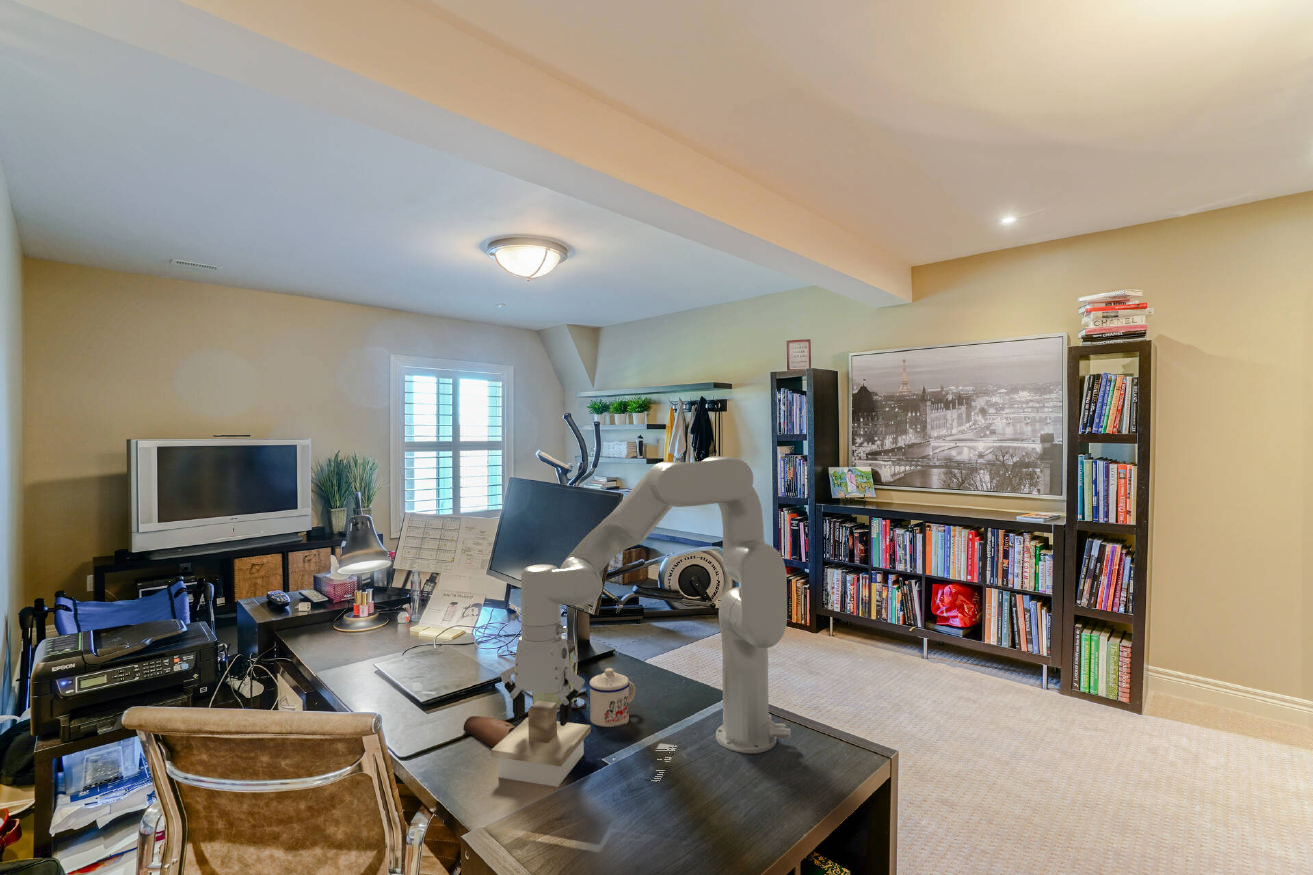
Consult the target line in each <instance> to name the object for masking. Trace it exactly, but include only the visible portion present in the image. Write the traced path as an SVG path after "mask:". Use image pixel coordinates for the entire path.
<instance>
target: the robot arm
mask: <svg viewBox="0 0 1313 875" xmlns="http://www.w3.org/2000/svg"><path fill="white" fill-rule="evenodd" d="M753 484H754V473H753V470H752V469H751V467H750V465H749V464H748V463H747V462H746V461H745V460H743V459H741V458H737V457H733V456H732V457H730V456H722V455H721V456H720V455H719V456H718V455H717V456H716V455H715V456H713V455H712V456H709V457H706V458H704V459H703V460H701V461H692V462H691V461H690V462H674V461H661V462H658V463H656V464H655V465H652V467H651V468H650V469H648V471H647V472H646V473H645V474H644V475H643V477H641V479H640V480H639V481H638V482H637V483H636V484H635V486H634V487H633V488H632V489H631V490H630V491H629V493H627V495H626V496H625V497H624V498H623V500H621V502H619V504H618V505H617V506H616V507H615V509H613V511H612V512H611V513H609V515H607V517H605V518H604V519H603V520H601V522H600V523H599V524H597V526H596V527H595V528H593V529H592V530H591V531H590V532H589V533H588V534H587V535H585V537H584V538H583V539H582V540H581V541H580V542H578V544H577V545H576V546H575V548H574V549H573V550H572V551H571V552H570V553H569V555H568V556H567V557H566V558H565V560H564V561H563V562H562V564H561V565H560V567H559V568H558V567H557V566H555V565H553V564H535V565H534V564H533V565H530V566H527V567H525V568H523V570H522V572H521V574H520V576H521V577H520V596H521V597H520V598H521V599H520V604H521V605H520V606H521V607H520V608H521V610H520V613H521V615H520V616H521V618H520V619H521V620H520V621H521V630H520V631H521V636H519V638H518V640H517V645H516V650H515V651H516V652H515V658H514V666H511V667H509V668H507V669H506V670H504V671H502V672H501V673H500V674H499V675H500V678H501V681H502V683H503V684H504V685H503V686H504V689H505V690H506V691H507V693H509V697H510V699H512V713H513V720H514V721H518V720H519V719H520V718H522V717H523V716H524V715H525V714H526V696H525V693H524V692H523V691H525V692H540V693H550V694H557V696H558V697H559V698H560V700H561V701H562V704H561V705H560V712H559V721H560V725H561V726H564V725H565V724H566V723H567V722H568V723H569V721H570V720H571V719H572V716H573V710H572V709H573V707H572V706H573V705H572V700H573V699H574V698H575V699H576V697H577V696H578V695H579V694H580V693H581V690H582V688H583V686H584V685H585V682H586V681H585V678H583V677H581V676H579V675H578V674H576V673H575V671H574V672H572V671H571V670H570V661H569V652H568V647H567V642H566V640H567V639H566V636H565V635H564V634H567V633H568V627H567V626H566V625H565V626H564V625H563V621H562V605H570V606H587V605H590V604H592V603H594V602H595V601H596V600H598V599H599V597H600V596H601V595H602V591H603V586H604V584H603V580H602V577H601V575H600V573H601V572H602V570H604V568H605V567H607V565H608V564H609V563H610V562H611V561H612V560H613V559H614V558H615V557H616V556H618V555H619V554H620V553H622V552H624V551H625V550H627V549H629V548H633V547H636V546H637V545H640V544H641V543H643V542H644V541H645V540H646V539H647V538H648V537H649V535H650V534H651V533H652V532H653V530H654V529H655V528H656V527H657V526H658V525H659V524H660V522H661V521H662V520H663V519H664V518H665V516H666V515H667V514H668V513H669V512H670V511H671V509H672V508H673V507H675V508H682V507H683V508H684V507H698V506H705V505H712V504H713V505H714V504H717V505H718V507H719V510H720V514H721V520H722V521H721V524H722V564H723V569H724V571H725V573H726V574H727V576H728V577H729V578H731V579H732V580H733V581H735V582H737V583H738V584H740V586H736V587H733V588H731V589H729V590H728V591H726V592H725V593H724V594H723V595H722V598H721V599H720V603H719V605H718V621H719V622H718V623H719V629H720V635H721V647H722V650H721V651H722V653H721V654H722V725H720V726H719V727H718V728H717V729H716V731H715V740H716V742H717V743H718V744H719V745H721V747H722V748H723V747H724V748H726V749H727V750H729V751H732V752H736V753H744V754H745V753H746V754H760V753H764V752H767V751H770V750H772V749H773V748H774V747H775V746H776V745H777V738H781V739H787V740H790V739H791V737H792V736H791V734H792V733H791V731H792V730H791V728H787V727H786V726H787V725H786V724H785V723H775V721H772V714H769V651H768V649H769V648H772V647H774V646H776V645H777V644H778V643H779V642H780V641H781V640H782V638H783V637H784V634H785V631H786V627H787V623H788V587H787V586H788V585H787V580H788V579H787V568H786V565H785V562H784V558H783V557H782V555H781V553H780V552H779V551H778V550H777V548H775V547H774V546H772V545H770V544H768V543H766V542H765V536H764V535H765V533H764V531H765V530H764V529H765V528H764V520H763V519H764V518H763V515H764V514H763V508H762V504H761V500H760V497H759V496H758V492H757V491H756V490H755V488H754V486H753ZM512 675H514V676H513V677H514V678H513V680H512V677H511V676H512ZM570 682H572V683H573V684H574V688H573V690H572V691H571V690H570V689H569V687H568V685H569V684H570Z"/></svg>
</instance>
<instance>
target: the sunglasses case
mask: <svg viewBox="0 0 1313 875" xmlns="http://www.w3.org/2000/svg"><path fill="white" fill-rule="evenodd" d="M462 728H463V729H462V730H463V731H464V733H466V734H468V735H471V736H473V737H474V738H475V739H477V740H478V741H480V742H481V743H483V744H484V745H486V746H487V747H489V748H491V750H492V749H493V748H494V747H495V746H496V745H497V744H498V743H499V742H501V741H502V740H503V739H504V738H505V737H506V736H507V735H508V734H509V733H511V732H512V731H513V730H514V729H515V728H516V726H514V725H513V724H511V723H510V722H507V721H504V720H501V719H498V718H497V719H496V718H494V717H489V716H481V715H471V716H469V717H467V719H466V720H465V722H464V723H463V727H462Z"/></svg>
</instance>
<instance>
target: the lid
mask: <svg viewBox="0 0 1313 875" xmlns="http://www.w3.org/2000/svg"><path fill="white" fill-rule="evenodd" d="M532 704H533V703H532ZM532 704H531V706H530V707H529V708H528V712H527V713H528V717H526V718H525V719H524V720H523V721H521V723H519V724H518V725H517V726H515V729H514V730H513V731H512V732H511V733H509V734H508V735H507V736H506V737H505V738H504V739H503V740H502V741H501V742H499V743H498V744H497V745H496V746H495V747H494V748H493V749H492V748H491V753H490V755H491V756H490V757H492V758H498V757H499V758H506V759H512V760H519V761H526V762H532V763H539V764H546V765H552V766H559V767H561V766H562V765H563V764H564V762H565V761H566V760H567V759H568V758H569V757H570V755H571V754H572V753H573V752H574V751H575V749H576V748H577V747H578V746H579V745H580V744H581V742H582V741H583V740H584V741H585V739H586V737H588V735H589V734H590V733H591V730H592V726H591V725H589V724H583V723H577V722H575V723H574V722H569V721H568V722H567V723H566V724H565V725H564V726H561V725H560V720H559V721H558V716H557V715H558V712H557V703H555V702H546V701H537V702H536V703H535V704H533V705H532Z"/></svg>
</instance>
